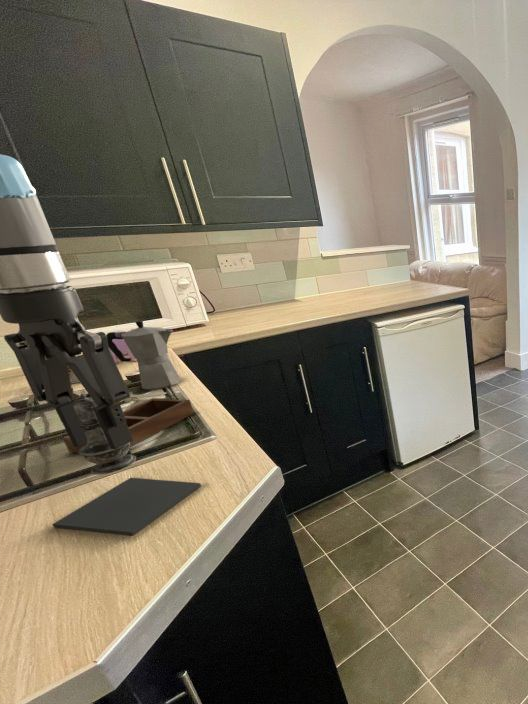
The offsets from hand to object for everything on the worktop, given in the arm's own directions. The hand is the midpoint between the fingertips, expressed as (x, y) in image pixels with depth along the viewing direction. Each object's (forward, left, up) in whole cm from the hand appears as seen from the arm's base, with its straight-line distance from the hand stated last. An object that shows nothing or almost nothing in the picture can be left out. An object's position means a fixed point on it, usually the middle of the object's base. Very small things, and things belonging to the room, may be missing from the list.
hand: (104, 443), depth 63 cm
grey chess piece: (0, 0, -4) cm, 4 cm away
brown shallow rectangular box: (-24, +22, -12) cm, 35 cm away
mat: (0, 0, -12) cm, 12 cm away
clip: (-82, +70, -12) cm, 109 cm away
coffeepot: (-46, +47, -12) cm, 67 cm away
